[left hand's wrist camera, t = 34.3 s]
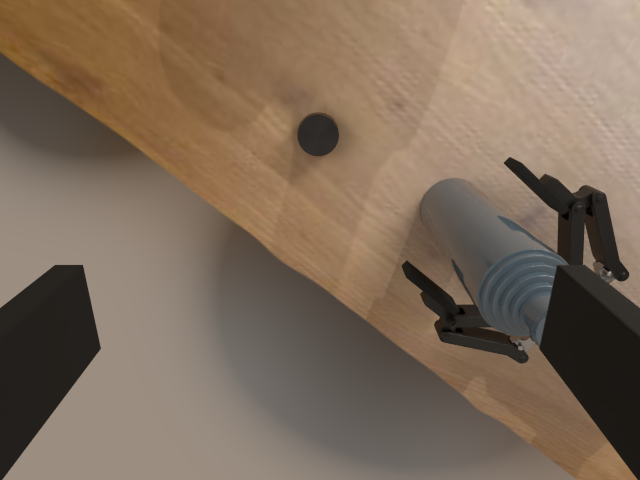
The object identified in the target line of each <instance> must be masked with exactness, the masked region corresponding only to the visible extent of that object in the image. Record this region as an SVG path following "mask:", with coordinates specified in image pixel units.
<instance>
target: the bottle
mask: <svg viewBox="0 0 640 480" xmlns="http://www.w3.org/2000/svg"><path fill="white" fill-rule="evenodd" d="M420 216H421V220H422V222H423V224H424V226H425V227H426V229H427V230H428V232H429V233H430V235H431V237H432V238H433V240H434V241H435V243H436V244H437V246H438V248H439V249H440V251H441V252H442V254H443V256H444V257H445V259H446V260H447V262H448V263H449V265H450V267H451V268H452V270H453V271H454V273H455V274H456V276H457V278H458V279H459V281H460V282H461V284H462V285H463V287H464V289H465V290H466V292H467V293H468V295H469V297H470V298H471V300H472V301H473V303H474V304H475V306H476V308H477V309H478V311H479V312H480V314H481V315H482V317H483V319H484V320H485V321H486V322H487V323H488V324H489V325H490V326H492V327H493V328H495V329H497V330H499V331H501V332H504V333H506V334H509V335H514V336H531V338H532V339H533V340H534V342H535V343H536V344H537V345H538V346H539V347H540V343H541V338H542V333H543V329H544V324H545V319H546V315H547V310H548V305H549V301H550V296H551V291H552V287H553V282H554V277H555V273H556V268H557V265H568V263H567V262H566V261H565V260H564V259H563V258H562V257H561V256H559V255H558V254H557V253H556V252H554V251H553V250H552V249H551V248H550V247H548V246H547V245H546V244H545V243H543V242H542V241H541V240H540V239H539V238H537V237H536V236H535V235H534V234H532V233H531V232H530V231H529V230H528V229H526V228H525V227H524V226H523V225H521V224H520V223H519V222H518V221H517V220H515V219H514V218H513V217H512V216H510V215H509V214H508V213H507V212H505V211H504V210H503V209H502V208H501V207H499V206H498V205H497V204H496V203H494V202H493V201H492V200H491V199H490V198H488V197H487V196H486V195H485V194H483V193H482V192H481V191H480V190H479V189H477V188H476V187H475V186H474V185H472V184H471V183H469V182H468V181H466V180H462V179H457V178H452V179H446V180H443V181H440V182H438V183H436V184H435V185H433V186H432V187H431V188H430V189H429V190H428V191H427V192H426V194H425V195H424V197H423V199H422V202H421V206H420Z"/></svg>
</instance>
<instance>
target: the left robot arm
mask: <svg viewBox="0 0 640 480" xmlns="http://www.w3.org/2000/svg"><path fill="white" fill-rule="evenodd" d="M100 349H101V347H100V343H99V338H98V333H97V329H96V324H95V319H94V315H93V310H92V305H91V301H90V296H89V292H88V287H87V282H86V278H85V273H84V268H83V265H55V266H53V267H52V268H51V269H50V270H48V271H47V272H46V273H44V274H43V275H42V276H41V277H39V278H38V279H37V280H36V281H34V282H33V283H32V284H30V285H29V286H28V287H27V288H25V289H24V290H23V291H22V292H20V293H19V294H18V295H16V296H15V297H14V298H13V299H11V300H10V301H9V302H8V303H6V304H5V305H4V306H2V307H1V308H0V480H2V479H3V478H4V477H5V475H6V474H7V473H8V471H9V470H10V469H11V467H12V466H13V465H14V463H15V462H16V461H17V459H18V458H19V457H20V455H21V454H22V453H23V451H24V450H25V449H26V447H27V446H28V445H29V443H30V442H31V441H32V439H33V438H34V437H35V435H36V434H37V433H38V431H39V430H40V429H41V427H42V426H43V425H44V423H45V422H46V421H47V419H48V418H49V417H50V415H51V414H52V413H53V411H54V410H55V409H56V408H57V406H58V405H59V404H60V402H61V401H62V400H63V398H64V397H65V395H66V394H67V393H68V392H69V390H70V389H71V388H72V386H73V385H74V384H75V382H76V381H77V380H78V378H79V377H80V376H81V374H82V373H83V372H84V370H85V369H86V368H87V366H88V365H89V364H90V362H91V361H92V360H93V358H94V357H95V356H96V354H97V353H98V352H99V350H100ZM539 349H540V350H541V352H542V353H543V354H544V356H545V357H546V358H547V360H548V361H549V362H550V364H551V365H552V366H553V368H554V369H555V370H556V372H557V373H558V374H559V376H560V377H561V378H562V380H563V381H564V382H565V384H566V385H567V386H568V388H569V389H570V390H571V392H572V393H573V394H574V396H575V397H576V398H577V400H578V401H579V402H580V404H581V405H582V406H583V408H584V409H585V410H586V411H587V413H588V414H589V415H590V417H591V418H592V419H593V421H594V422H595V423H596V425H597V426H598V427H599V429H600V430H601V431H602V433H603V434H604V435H605V437H606V438H607V439H608V441H609V442H610V443H611V445H612V446H613V447H614V449H615V450H616V451H617V453H618V454H619V455H620V457H621V458H622V459H623V461H624V462H625V463H626V465H627V466H628V467H629V469H630V470H631V471H632V473H633V474H634V475H635V477H636V478H637V479H638V480H640V308H639V307H638V306H636V305H635V304H634V303H632V302H631V301H630V300H629V299H627V298H626V297H625V296H624V295H622V294H621V293H620V292H618V291H617V290H616V289H615V288H613V287H612V286H611V285H610V284H608V283H607V282H606V281H604V280H603V279H602V278H601V277H599V276H598V275H597V274H596V273H594V272H593V271H592V270H590V269H589V268H588V267H587V266H585V265H557V268H556V273H555V277H554V282H553V287H552V291H551V296H550V301H549V305H548V310H547V315H546V319H545V324H544V329H543V333H542V338H541V343H540V347H539Z"/></svg>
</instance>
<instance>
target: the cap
mask: <svg viewBox="0 0 640 480" xmlns="http://www.w3.org/2000/svg"><path fill="white" fill-rule="evenodd" d="M338 138H339V133H338V128H337V125H336V123H335V121H334V120H333V119H332V118H331V117H330V116H328V115H327V114H324V113H312V114H310V115H308V116H306V117H305V118H304V119H303V120H302V122H301V124H300V126H299V129H298V141H299V144H300V146H301V147H302V149H303V150H304V151H305V152H307V153H308V154H310V155H314V156H323V155H326V154H328V153H330V152H331V151H332V150H333V149H334V148H335V146H336V144H337V142H338Z"/></svg>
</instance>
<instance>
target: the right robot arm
mask: <svg viewBox="0 0 640 480" xmlns="http://www.w3.org/2000/svg"><path fill="white" fill-rule="evenodd" d="M504 164H505V165H506V166H507V167H508V168H509V169H510V170H511V171H512V172H513V173H514V174H515V175H517V176H518V177H519V178H520V179H521V180H522V181H523V182H524V183H525V184H526V185H527V186H528V187H529V188H530V189H531V190H532V191H533V192H534V193H535V194H537V195H538V196H539V197H540V198H541V199H542V200H543V201H544V202H545V203H546V204H547V205H548V206H549V207H551V208H552V209H554V210H555V211H557V212H558V252H557V254H558V255H559V256H561V257H562V258H563V259H564V260H565V261H566V262H567V263H568V265H583V246H584V225H586V229H587V234H588V238H589V242H590V246H591V251H592V254H593V256H594V258H595V260H596V261H595V262H594V263H593V266H594V271H595V273H596V274H597V275H598V276H599V277H601V278H602V279H603V280H604V281H606V282H607V283H608V284H609V283H610V282H612V281H613V280H614V279H617V280H618V281H625V280H626V279H627V278H628V277H629V272H628V271H627V269H626V268H625V267H624V266H623V264H622V263H621V262H620V260H619V256H618V251H617V246H616V241H615V237H614V232H613V227H612V222H611V218H610V213H609V208H608V203H607V198H606V195H605V194H604V193H603V192H601V191H599V190H596V189H594V188H592V187H590V186H587V185H584V186H582V187H581V188H580V189H579V191H577V192H575V193H571V192H570V191H569V190H568V189H567V188H566V187H565V186H564V185H563V184H562V183H561V182H560V181H559V180H558V179H556V178H554V177H552V176H549V175H547V174H544V175H543V176H542V177H541V178H540V179H538V178H537V177H536V176H535V175H534V174H533V173H532V172H531V171H529V170H528V169H527V168H526V167H525V166H524V165H523V164H522V163H521V162H519V161H517V160H515V159H513V158H511V157H509V158H508V159H507V160H506V161H505V162H504ZM402 268H403V270H404V273H405V275H406V278H407V279H409V280H410V281H411V282H412V283H414V284H415V285H416V286H417V287H419V288H420V289H421V290H422V291H423V292H422V293H421V294H420V295H421V297H422V300H423V302H424V304H425V305H426V306H427V307H428V308H430V309H431V310H432V311H433V312H435V313H436V314H437V315H438V316H440V319H439V320H437V321H436V322H435V323H434V326H435V329H436V331H437V334H438V336H439V338H440V340H441V341H442V342H445V343H450V344H454V345H459V346H464V347H469V348H474V349H479V350H484V351H488V352H493V353H498V354H503V355H507V356H509V357H510V358H512V359H514V360H515V361H517V362H519V363H525V362H527V361H528V359H529V357H528V355H527V354H526V353H527V352H528V351H529V350H530V349H531V348H532V347H533V346H534V345H535V344H536V343H535V342H534V340H533V339H532V338H531V336H514V335H509V336H508V335H506V334H504V333H501V332H497V331H492V330H488V329H483V328H478V327H492V326H490V325H489V324H488V323H487V322H486V321H485V320H484V319H483V317H482V315H481V314H480V312H479V311H478V309H477V308H476V306H475V305H456V304H455V302H454V300H453V298H452V297H451V296H450V295H449V294H447V293H446V292H445V291H444V290H442V289H441V288H440V287H439V286H438V285H436V284H435V283H434V282H433V281H431V280H430V279H429V278H428V277H426V276H425V275H424V274H423V273H422V272H420V271H419V270H418V269H417V268H415V267H414V266H413V265H412V264H410V263H409V262H408V261H406V262H405V263H404V264H403V265H402Z"/></svg>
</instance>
